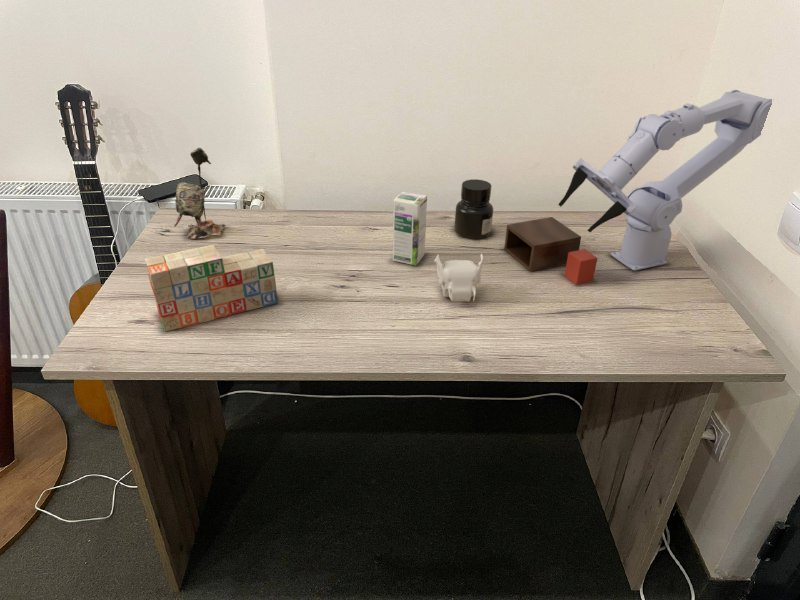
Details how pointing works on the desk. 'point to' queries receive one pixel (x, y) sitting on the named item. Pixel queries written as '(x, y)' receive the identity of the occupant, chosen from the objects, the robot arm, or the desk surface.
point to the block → (580, 266)
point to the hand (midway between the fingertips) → (574, 217)
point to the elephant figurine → (458, 278)
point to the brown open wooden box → (540, 243)
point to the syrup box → (409, 227)
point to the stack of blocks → (209, 284)
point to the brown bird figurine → (195, 203)
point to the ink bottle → (474, 210)
